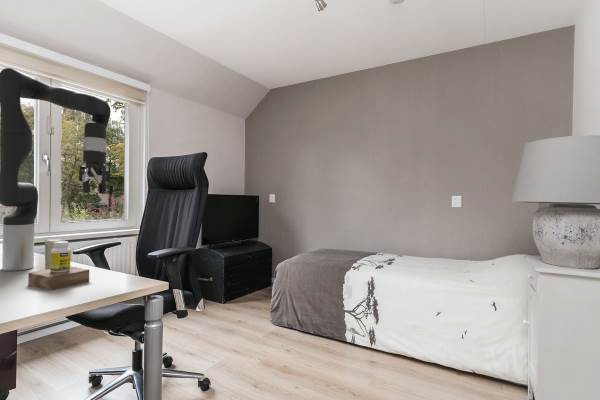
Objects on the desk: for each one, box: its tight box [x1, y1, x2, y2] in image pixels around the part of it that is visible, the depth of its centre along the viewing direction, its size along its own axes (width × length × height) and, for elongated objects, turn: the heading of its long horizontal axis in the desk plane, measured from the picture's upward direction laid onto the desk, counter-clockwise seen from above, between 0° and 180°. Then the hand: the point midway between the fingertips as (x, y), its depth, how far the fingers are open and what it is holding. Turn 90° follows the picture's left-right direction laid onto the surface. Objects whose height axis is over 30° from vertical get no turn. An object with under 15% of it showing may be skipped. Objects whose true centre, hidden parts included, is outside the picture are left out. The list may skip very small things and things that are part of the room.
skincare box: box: [44, 238, 66, 270], centre depth 124 cm, size 6×4×12 cm
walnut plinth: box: [27, 265, 90, 291], centre depth 111 cm, size 12×12×4 cm
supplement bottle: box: [50, 240, 72, 273], centre depth 111 cm, size 5×5×10 cm
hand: (94, 193), depth 126 cm, fingers open, 8 cm apart
